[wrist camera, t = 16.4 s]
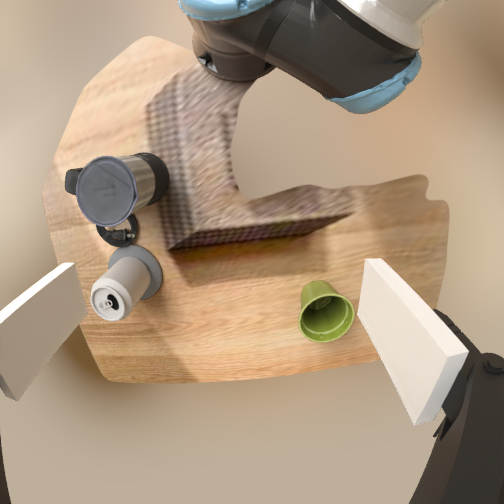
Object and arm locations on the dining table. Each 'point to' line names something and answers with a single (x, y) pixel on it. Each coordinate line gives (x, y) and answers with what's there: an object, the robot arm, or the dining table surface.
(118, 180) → the milk frother
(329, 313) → the plant pot
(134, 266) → the can
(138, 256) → the coaster
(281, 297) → the dining table surface
